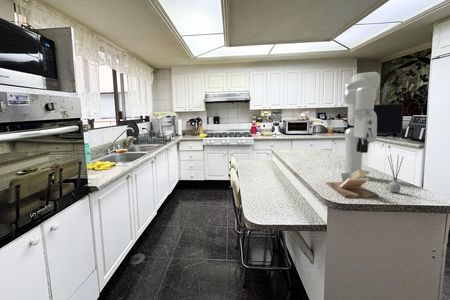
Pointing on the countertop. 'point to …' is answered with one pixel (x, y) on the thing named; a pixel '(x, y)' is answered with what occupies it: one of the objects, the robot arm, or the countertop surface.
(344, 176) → the trowel
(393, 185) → the reed diffuser
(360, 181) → the tile
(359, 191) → the board
